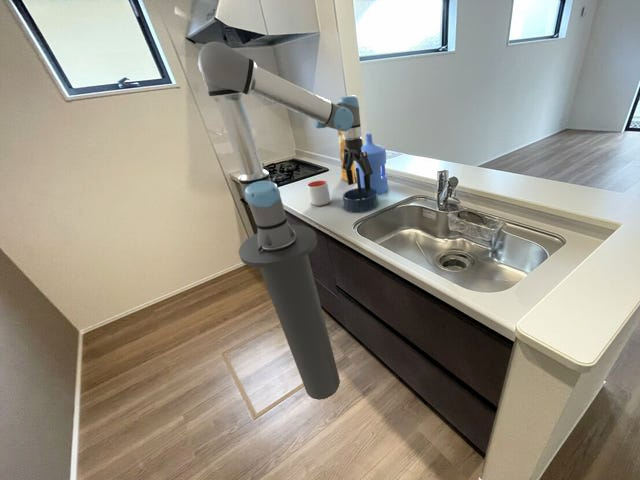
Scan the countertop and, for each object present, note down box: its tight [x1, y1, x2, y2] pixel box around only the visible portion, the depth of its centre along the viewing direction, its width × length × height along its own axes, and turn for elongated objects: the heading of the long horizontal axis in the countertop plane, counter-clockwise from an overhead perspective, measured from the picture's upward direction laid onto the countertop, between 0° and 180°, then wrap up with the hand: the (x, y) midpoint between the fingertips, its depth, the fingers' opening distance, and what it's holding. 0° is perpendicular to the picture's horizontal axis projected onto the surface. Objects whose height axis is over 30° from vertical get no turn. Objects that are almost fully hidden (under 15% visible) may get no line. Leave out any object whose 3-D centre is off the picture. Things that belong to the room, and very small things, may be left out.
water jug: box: [355, 133, 389, 196], centre depth 152 cm, size 16×16×28 cm
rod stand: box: [355, 167, 365, 200], centre depth 140 cm, size 6×6×17 cm
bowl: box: [342, 187, 379, 213], centre depth 143 cm, size 17×17×6 cm
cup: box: [306, 180, 331, 207], centre depth 150 cm, size 10×10×10 cm
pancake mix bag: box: [336, 130, 357, 184], centre depth 172 cm, size 7×19×28 cm, turn 30°
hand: (359, 187), depth 140 cm, fingers open, 12 cm apart
